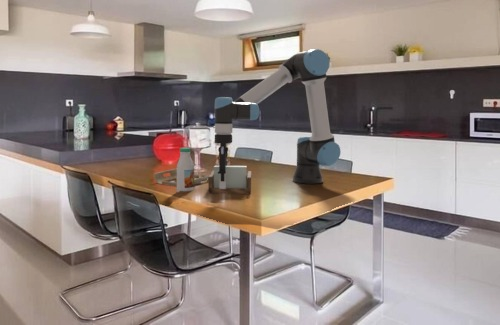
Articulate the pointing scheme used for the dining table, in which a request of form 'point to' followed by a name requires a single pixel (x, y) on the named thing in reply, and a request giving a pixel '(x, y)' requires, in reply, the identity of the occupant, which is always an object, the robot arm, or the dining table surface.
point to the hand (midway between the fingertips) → (223, 187)
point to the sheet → (232, 176)
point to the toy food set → (175, 178)
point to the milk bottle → (185, 171)
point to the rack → (230, 190)
